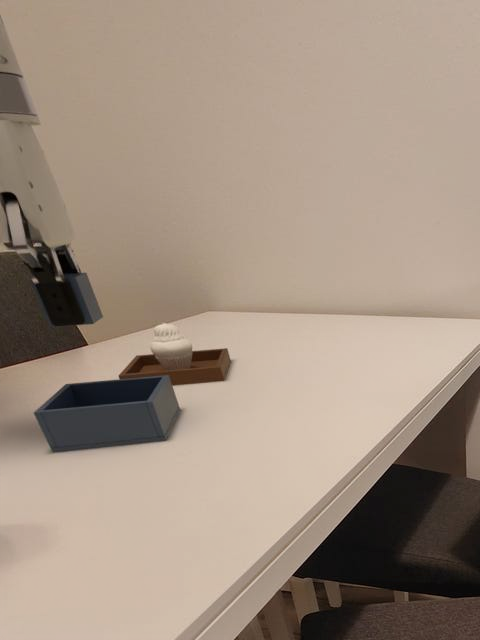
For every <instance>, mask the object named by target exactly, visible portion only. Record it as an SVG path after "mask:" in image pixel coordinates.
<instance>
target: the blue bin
mask: <svg viewBox="0 0 480 640" xmlns="http://www.w3.org/2000/svg"><path fill="white" fill-rule="evenodd" d="M173 386H174V385H173ZM173 386H172V383H171V380H170V377H169V375H164V376H153V377H141V378H130V379H119V378H118V379H108V380H96V381H86V382H85V381H84V382H71V383H65V384H64V385H63V386H62V387H61V388H59V389H58V390H57V391H56V392H55V393H54V394H53V395H51V397H50V398H48V399H47V400H46V401H45V402H44V403H43V404H42V405H41V406H39V407H38V408H37V409H36V410H35V411H34V412H33V415H34V417H35V419H36V422H37V423H38V426H39V427H40V429H41V431H42V434H43V435H44V437H45V440H46V441H47V444H48V445H49V448H50V449H51V452H52V453H53V454H54V453H61V452H72V451H82V450H90V449H91V450H92V449H93V450H94V449H101V448H111V447H119V446H131V445H139V444H147V443H157V442H158V443H159V442H167V441H168V438H169V436H170V434H171V432H172V429H173V427H174V426H175V423H176V421H177V419H178V417H179V415H180V413H181V408H180V405H179V401H178V399H177V396H176V392H175V388H174V387H173Z"/></svg>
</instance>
